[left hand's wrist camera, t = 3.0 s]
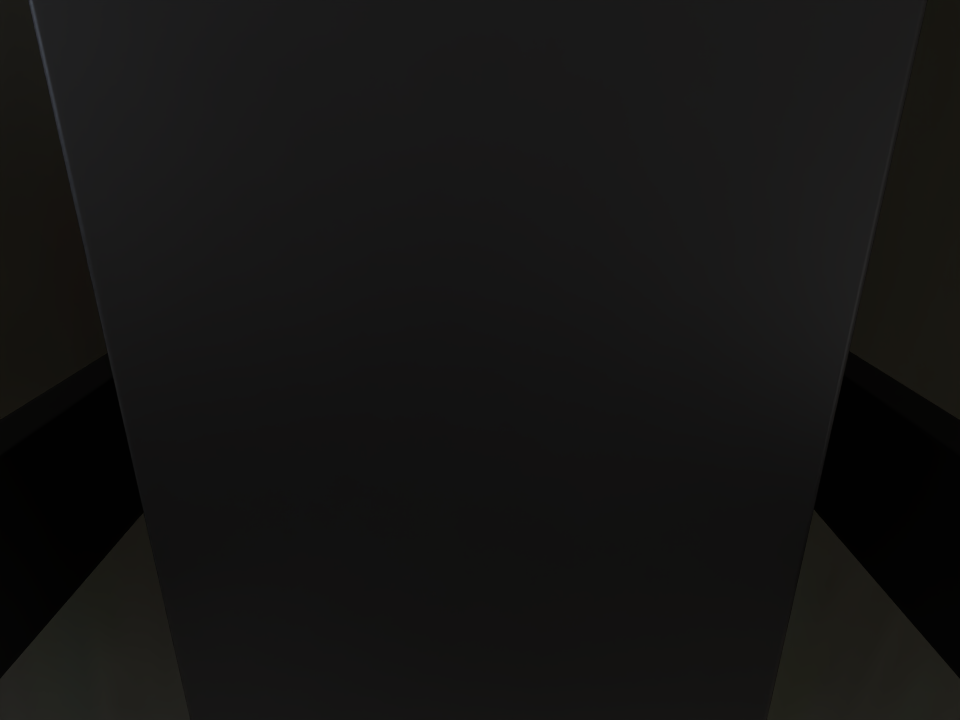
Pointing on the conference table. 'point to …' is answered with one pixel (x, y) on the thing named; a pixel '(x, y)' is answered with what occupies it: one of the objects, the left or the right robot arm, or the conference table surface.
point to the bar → (478, 333)
